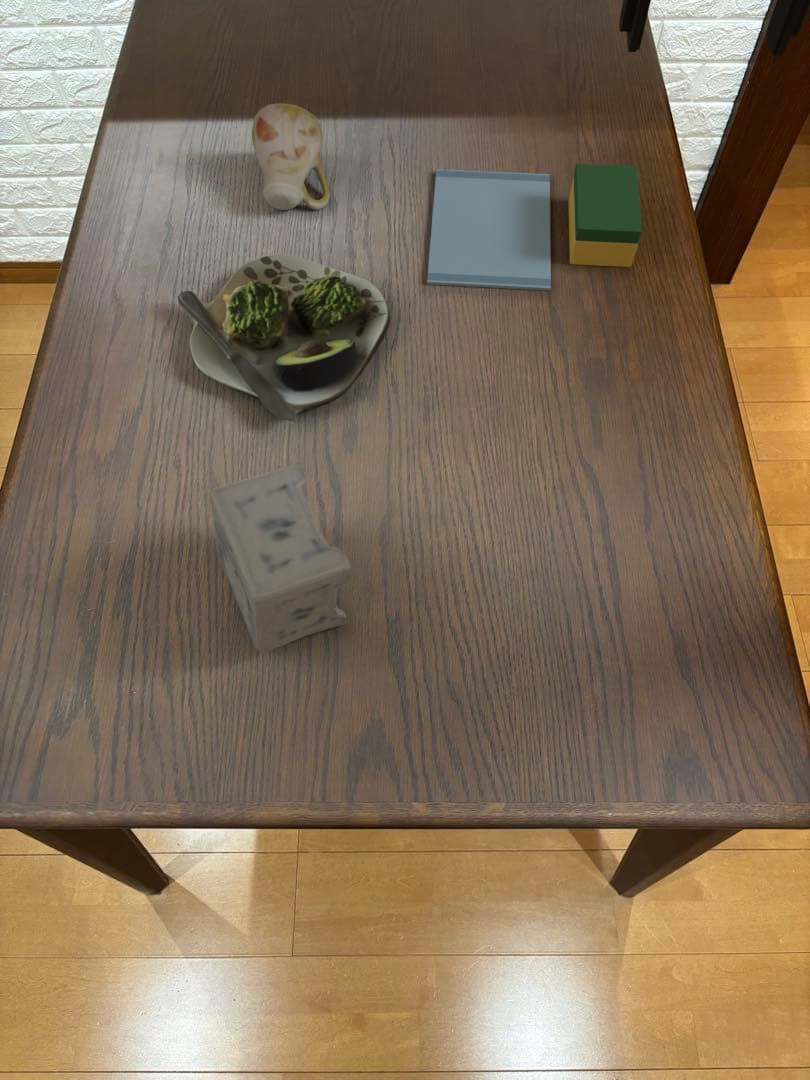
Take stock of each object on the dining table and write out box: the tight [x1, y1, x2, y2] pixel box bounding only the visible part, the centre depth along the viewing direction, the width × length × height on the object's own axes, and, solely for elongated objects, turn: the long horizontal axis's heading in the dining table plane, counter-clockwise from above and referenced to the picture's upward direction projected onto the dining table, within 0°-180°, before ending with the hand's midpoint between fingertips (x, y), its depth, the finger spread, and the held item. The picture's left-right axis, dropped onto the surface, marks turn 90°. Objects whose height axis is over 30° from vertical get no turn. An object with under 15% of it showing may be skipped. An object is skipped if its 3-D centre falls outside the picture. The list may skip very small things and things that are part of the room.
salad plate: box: [177, 253, 391, 422], centre depth 75 cm, size 19×18×5 cm
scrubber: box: [568, 163, 643, 268], centre depth 81 cm, size 9×6×4 cm, turn 176°
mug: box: [251, 102, 331, 211], centre depth 84 cm, size 8×10×10 cm
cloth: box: [426, 168, 552, 292], centre depth 84 cm, size 12×16×1 cm
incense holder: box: [209, 462, 352, 654], centre depth 61 cm, size 10×8×10 cm
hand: (702, 42), depth 57 cm, fingers open, 9 cm apart
